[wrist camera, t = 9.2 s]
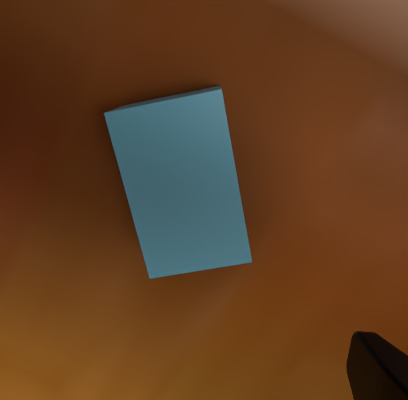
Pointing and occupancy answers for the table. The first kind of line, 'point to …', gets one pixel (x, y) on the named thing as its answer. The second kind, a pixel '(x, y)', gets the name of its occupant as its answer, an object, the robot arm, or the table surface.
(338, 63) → the table surface
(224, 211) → the teal brick
